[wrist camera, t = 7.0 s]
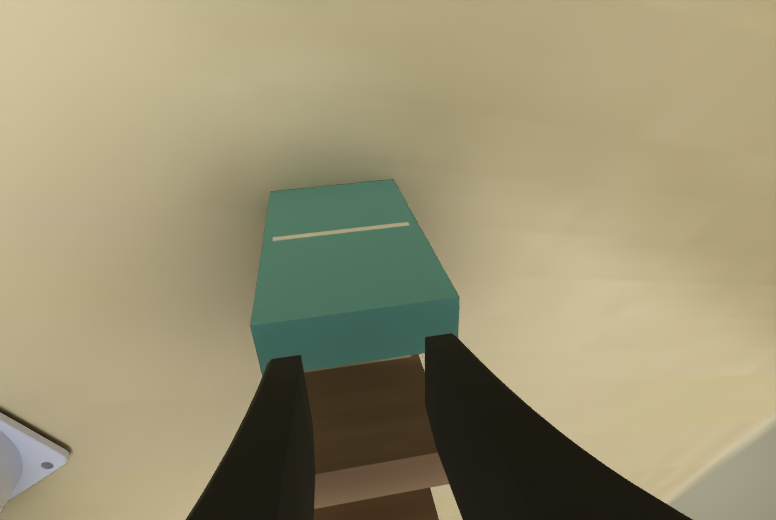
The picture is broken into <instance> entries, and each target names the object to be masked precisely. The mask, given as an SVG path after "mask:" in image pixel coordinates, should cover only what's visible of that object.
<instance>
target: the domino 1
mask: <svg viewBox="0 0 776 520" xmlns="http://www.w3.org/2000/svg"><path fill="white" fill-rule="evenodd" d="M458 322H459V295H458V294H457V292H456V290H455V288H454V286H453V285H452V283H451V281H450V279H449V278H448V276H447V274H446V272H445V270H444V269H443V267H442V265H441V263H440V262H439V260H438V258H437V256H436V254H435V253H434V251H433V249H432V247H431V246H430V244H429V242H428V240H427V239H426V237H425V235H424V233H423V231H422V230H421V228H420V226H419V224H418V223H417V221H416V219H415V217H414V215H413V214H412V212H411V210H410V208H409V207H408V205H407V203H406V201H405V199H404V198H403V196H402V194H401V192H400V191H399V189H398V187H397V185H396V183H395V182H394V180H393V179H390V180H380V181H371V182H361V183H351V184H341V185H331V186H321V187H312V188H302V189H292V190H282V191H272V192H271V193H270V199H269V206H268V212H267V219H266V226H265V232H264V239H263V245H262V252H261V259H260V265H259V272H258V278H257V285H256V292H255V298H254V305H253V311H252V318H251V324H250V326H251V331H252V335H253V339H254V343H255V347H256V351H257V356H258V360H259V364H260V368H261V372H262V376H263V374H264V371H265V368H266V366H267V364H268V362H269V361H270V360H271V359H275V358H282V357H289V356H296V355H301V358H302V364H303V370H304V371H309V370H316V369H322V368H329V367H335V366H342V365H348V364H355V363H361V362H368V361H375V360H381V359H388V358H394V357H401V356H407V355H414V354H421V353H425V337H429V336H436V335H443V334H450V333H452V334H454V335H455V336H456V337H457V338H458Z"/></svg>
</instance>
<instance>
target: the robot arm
mask: <svg viewBox="0 0 776 520" xmlns="http://www.w3.org/2000/svg"><path fill="white" fill-rule="evenodd" d="M425 407H426V411H427V415H428V419H429V423H430V427H431V431H432V434H433V438H434V442H435V446H436V449H437V452H438V455H439V457H440V460H441V463H442V465H443V468H444V471H445V473H446V476H447V479H448V481H449V484H450V487H451V489H452V492H453V495H454V497H455V500H456V502H457V505H458V508H459V510H460V513H461V516H462V518H463V520H692V519H691V518H689V517H687V516H685V515H684V514H682V513H680V512H679V511H677V510H675V509H674V508H672V507H671V506H669V505H667V504H666V503H664V502H662V501H661V500H659V499H657V498H656V497H654V496H652V495H651V494H649V493H648V492H646V491H644V490H643V489H641V488H639V487H638V486H636V485H634V484H633V483H631V482H630V481H628V480H627V479H625V478H624V477H622V476H621V475H619V474H618V473H616V472H615V471H613V470H612V469H610V468H609V467H607V466H606V465H604V464H603V463H602V462H600V461H599V460H597V459H596V458H595V457H593V456H592V455H590V454H589V453H588V452H586V451H585V450H583V449H582V448H581V447H579V446H578V445H577V444H575V443H574V442H573V441H571V440H570V439H569V438H568V437H566V436H565V435H564V434H562V433H561V432H560V431H559V430H557V429H556V428H555V427H554V426H552V425H551V424H550V423H549V422H547V421H546V420H545V419H544V418H543V417H541V416H540V415H539V414H538V413H537V412H535V411H534V410H533V409H532V408H531V407H530V406H528V405H527V404H526V403H525V402H524V401H523V400H522V399H520V398H519V397H518V396H517V395H516V394H515V393H514V392H513V391H512V390H510V389H509V388H508V387H507V386H506V385H505V384H504V383H503V382H502V381H501V380H500V379H498V378H497V377H496V376H495V375H494V374H493V373H492V372H491V371H490V370H489V369H488V368H487V367H486V366H485V365H484V364H483V363H482V362H481V361H480V360H479V359H478V358H477V357H476V356H475V355H474V354H473V353H472V352H471V351H470V350H469V349H468V348H467V347H466V346H465V345H464V344H463V343H462V342H461V341H460V340H459V339H458V338H457V337H456V336H455V335H454V334H452V333H450V334H443V335H436V336H429V337H425ZM69 455H70V454H69V452H68V451H67V450H65V449H64V448H62V447H60V446H59V445H57V444H55V443H53V442H52V441H50V440H48V439H46V438H44V437H43V436H41V435H39V434H37V433H36V432H34V431H32V430H30V429H29V428H27V427H25V426H23V425H22V424H20V423H18V422H16V421H15V420H13V419H11V418H9V417H8V416H6V415H4V414H2V413H1V412H0V512H1V510H2V509H3V507H4V505H5V504H6V502H7V501H9V500H10V499H12V498H14V497H15V496H17V495H18V494H20V493H21V492H23V491H24V490H26V489H27V488H29V487H31V486H32V485H34V484H35V483H37V482H38V481H40V480H41V479H43V478H44V477H46V476H48V475H49V474H51V473H52V472H54V471H55V470H57V469H58V468H60V467H61V466H63V465H64V464H65V463H66V462H67V460H68V458H69ZM315 471H316V468H315V451H314V435H313V422H312V416H311V410H310V404H309V399H308V393H307V387H306V381H305V375H304V370H303V364H302V358H301V355H296V356H289V357H282V358H275V359H271V360H270V361H269V362H268V364H267V366H266V368H265V371H264V374H263V377H262V379H261V382H260V384H259V386H258V389H257V391H256V393H255V396H254V398H253V400H252V402H251V404H250V407H249V409H248V411H247V413H246V415H245V417H244V419H243V421H242V423H241V425H240V427H239V429H238V431H237V433H236V435H235V437H234V439H233V441H232V443H231V444H230V446H229V448H228V450H227V452H226V454H225V455H224V457H223V459H222V461H221V462H220V464H219V466H218V467H217V469H216V471H215V473H214V474H213V476H212V478H211V480H210V481H209V483H208V485H207V487H206V488H205V490H204V492H203V493H202V495H201V496H200V498H199V500H198V501H197V503H196V504H195V506H194V508H193V509H192V511H191V512H190V514H189V515H188V517H187V518H186V520H314V499H315Z"/></svg>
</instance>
